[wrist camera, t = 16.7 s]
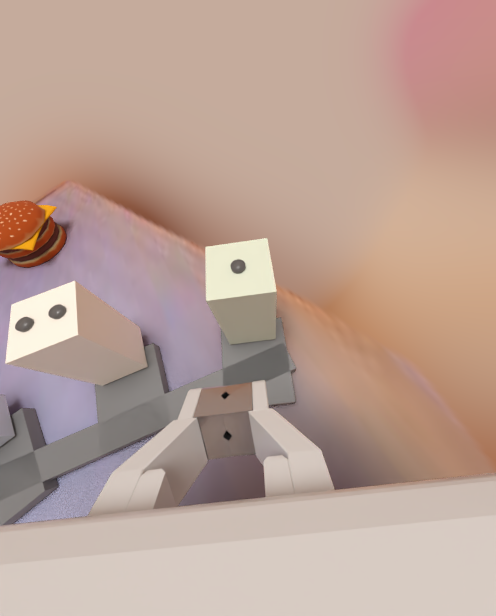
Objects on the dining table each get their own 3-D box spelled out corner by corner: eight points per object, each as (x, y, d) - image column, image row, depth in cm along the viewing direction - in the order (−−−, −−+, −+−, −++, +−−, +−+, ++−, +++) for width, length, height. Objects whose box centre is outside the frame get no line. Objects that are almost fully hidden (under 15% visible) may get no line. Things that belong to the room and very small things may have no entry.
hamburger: (25, 228, 41) (-17, 195, 35) (76, 223, 40) (42, 188, 34) (0, 272, 36) (-53, 242, 31) (56, 267, 36) (13, 236, 30)
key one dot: (275, 339, 25) (276, 289, 16) (230, 344, 25) (204, 298, 16) (269, 298, 27) (267, 235, 18) (227, 304, 27) (204, 244, 18)
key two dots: (147, 366, 25) (74, 333, 16) (102, 385, 25) (0, 362, 15) (139, 327, 27) (72, 278, 18) (98, 344, 27) (7, 302, 18)
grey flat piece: (317, 392, 24) (320, 390, 22) (-46, 560, 21) (-68, 569, 19) (269, 301, 29) (269, 295, 28) (-25, 423, 26) (-41, 423, 25)
